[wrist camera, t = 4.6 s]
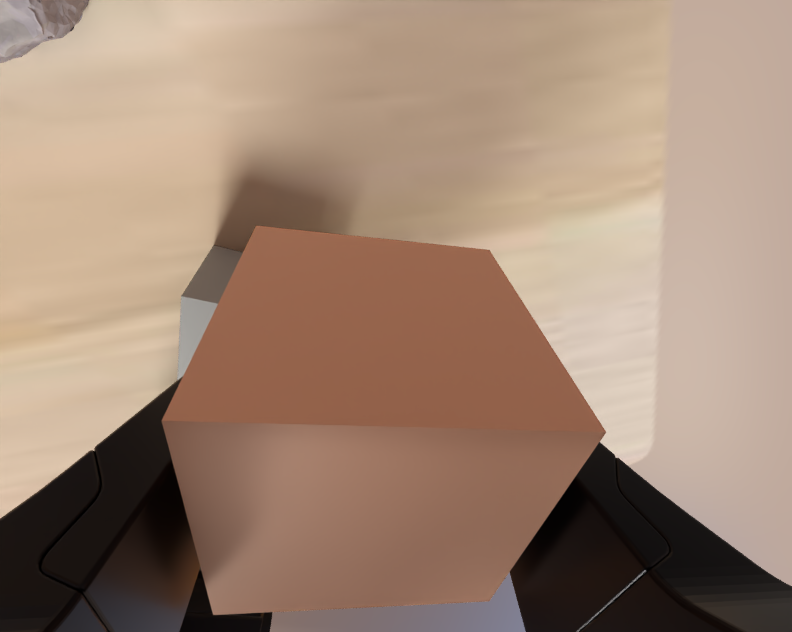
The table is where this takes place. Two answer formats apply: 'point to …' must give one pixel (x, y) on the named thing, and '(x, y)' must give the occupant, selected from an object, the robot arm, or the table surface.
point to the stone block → (35, 23)
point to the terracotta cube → (369, 426)
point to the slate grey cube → (203, 300)
